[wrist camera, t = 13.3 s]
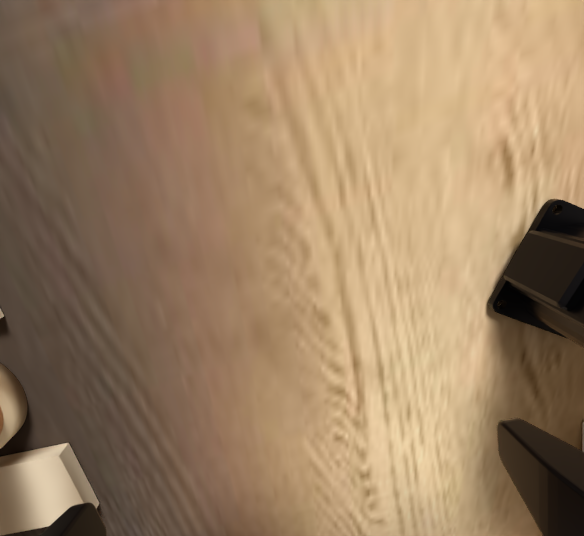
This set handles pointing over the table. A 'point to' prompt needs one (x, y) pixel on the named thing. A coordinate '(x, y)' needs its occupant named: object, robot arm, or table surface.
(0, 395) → the cord reel
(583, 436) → the coffee box
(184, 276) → the table surface
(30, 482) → the shelf board
